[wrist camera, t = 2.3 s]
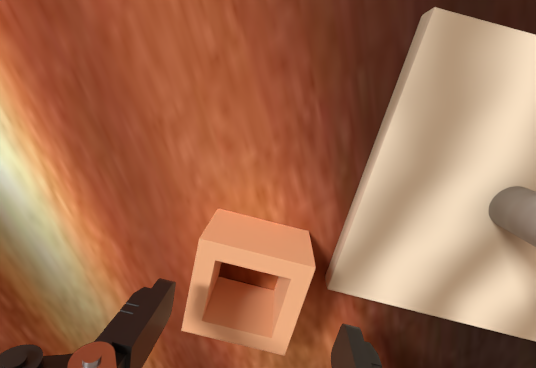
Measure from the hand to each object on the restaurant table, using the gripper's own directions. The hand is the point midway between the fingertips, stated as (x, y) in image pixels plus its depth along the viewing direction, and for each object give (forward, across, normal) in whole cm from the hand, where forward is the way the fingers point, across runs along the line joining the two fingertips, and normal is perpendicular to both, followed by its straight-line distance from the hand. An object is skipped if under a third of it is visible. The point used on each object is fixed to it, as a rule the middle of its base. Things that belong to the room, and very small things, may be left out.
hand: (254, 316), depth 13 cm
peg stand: (+6, -12, -7) cm, 15 cm away
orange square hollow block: (+6, +1, +1) cm, 6 cm away
